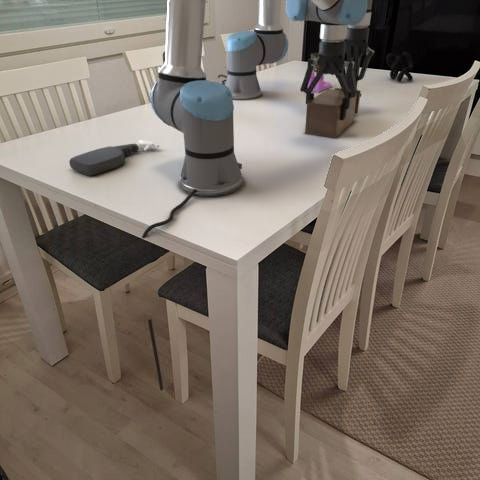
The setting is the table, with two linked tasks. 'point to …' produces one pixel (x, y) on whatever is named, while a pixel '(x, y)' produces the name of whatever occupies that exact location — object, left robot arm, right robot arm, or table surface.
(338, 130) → the brown rectangular box
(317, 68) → the olive tapered piece
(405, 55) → the squiggle
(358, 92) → the drawer
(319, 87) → the bracket
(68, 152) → the table surface
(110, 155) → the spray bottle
